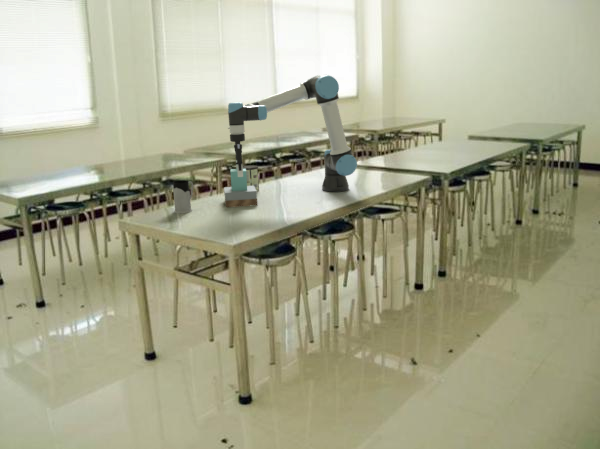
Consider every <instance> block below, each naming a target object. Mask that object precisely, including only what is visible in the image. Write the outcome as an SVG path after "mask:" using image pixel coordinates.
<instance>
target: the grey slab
mask: <svg viewBox="0 0 600 449" xmlns="http://www.w3.org/2000/svg"><path fill="white" fill-rule="evenodd" d="M223 192H224V201H225V200H226V201H229V200H245V199H257V200H258V191H256V189H255V187H254V186H247V190H241V191H232V188H231V186H225V187H223Z"/></svg>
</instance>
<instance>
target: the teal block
mask: <svg viewBox="0 0 600 449" xmlns="http://www.w3.org/2000/svg"><path fill="white" fill-rule="evenodd" d="M229 172H230V185H231V186H230V187H231V188H232V191H241V190H247V176H246V169H243V177H238V172H237V169H236V168H231V169H230V171H229Z"/></svg>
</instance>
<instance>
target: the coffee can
mask: <svg viewBox="0 0 600 449" xmlns="http://www.w3.org/2000/svg"><path fill="white" fill-rule="evenodd" d="M242 166H243V169H246V176H247V186H254V187H255V189H256V191H257V192H259V191H260V185H259V184H260V183H259V166H258V165H256V164H255V165H254V164H252V165H251V164H250V165H248V164H247V165H242Z"/></svg>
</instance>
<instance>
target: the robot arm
mask: <svg viewBox="0 0 600 449" xmlns="http://www.w3.org/2000/svg"><path fill="white" fill-rule="evenodd" d="M339 87H340V86H339V82H338V80H337V79H336V78H335V77H334V76H332V75H329V74H328V75H327V74H321V75H319V74H318V75H315V76H312V77H310V78H308V79H307V80H304V81H301V82H300V83H299V84H298V85H297V86H294V87H291V88H289V89H286V90H283V91H280V92H277V93H276V94H273V95H270V96H268V97H265V98H262V99H260V100H257V101H254V102H251V103H246V104H245V105H244V103H243V102H240V101H239V102H229V103H228V104H227V107H228V108H227V109H228V111H227V114H228V125H229V126H228V127H227V129H228V130H229V141H230V142H231V143H234V145H233V148H234V152H235V166H236V167H235V169H237V172H238V177H243V166H244V165H243V154H242V153H243V145H242V144H241V142H245V140H246V137H245V131H246V130H245V122H252V121H254V122H255V121H264V120H266V119H267V117H268V113H270V112H273V111H275V110H278V109H281V108H284V107H286V106H288V105H291V104H294V103H296V102H297V103H298V102H300V101H302V100H305V101H307V100H310V99H315V100H316V104H317V105H318V106H320V107H321V108H320V109H321V112H322V116H323V120H324V124H325V127H326V128H325V129H326V132H327V135H328V140H329V143H330V147H331V149H326V150H325V151H324V156H323V157H324V179H323V182H322V186H321V189H322V191H324V192H329V193H330V192H331V193H333V192H337V193H338V192H346V191H348V190H350V187H349V186H350V185H349V182H348V179H347V176H350V175H353V174H354V173H355V171H356V170H357V167H358V161H357V159H356V157H355V156H354V155H353V151H352V147H350V146H348V144H347V139H346V134H345V130H344V126H343V123H342V119H341V117H342V116H341V114H340V109H339V106H338V101H339V100H340V97H339V89H340V88H339Z"/></svg>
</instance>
